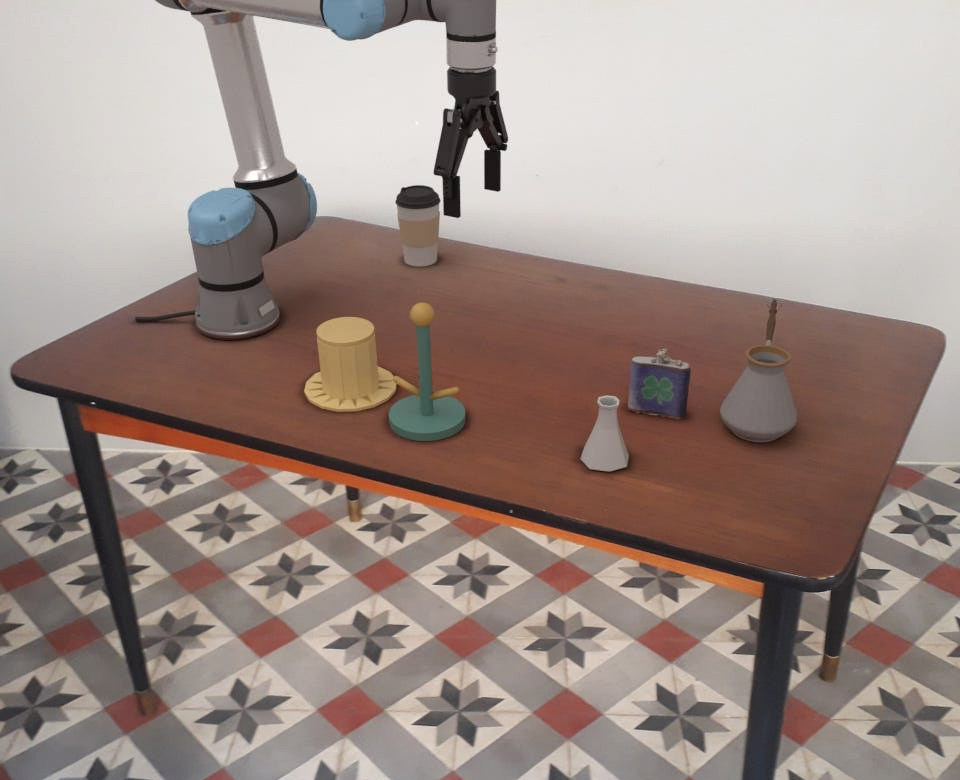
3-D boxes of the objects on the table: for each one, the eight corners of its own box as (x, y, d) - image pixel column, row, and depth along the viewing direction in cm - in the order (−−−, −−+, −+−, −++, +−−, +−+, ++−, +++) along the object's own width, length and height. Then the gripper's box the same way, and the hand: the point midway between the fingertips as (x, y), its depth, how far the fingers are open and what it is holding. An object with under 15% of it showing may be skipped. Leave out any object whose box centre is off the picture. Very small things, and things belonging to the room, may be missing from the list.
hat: (288, 402, 169) (280, 342, 163) (332, 360, 181) (326, 303, 175) (371, 418, 165) (366, 357, 158) (411, 375, 176) (407, 316, 170)
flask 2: (626, 411, 165) (631, 350, 159) (629, 402, 168) (635, 342, 162) (684, 420, 163) (691, 359, 157) (687, 411, 165) (694, 351, 159)
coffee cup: (445, 251, 220) (442, 181, 211) (439, 269, 212) (436, 197, 204) (402, 250, 221) (398, 180, 212) (395, 268, 213) (391, 196, 205)
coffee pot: (792, 454, 155) (809, 364, 146) (714, 443, 157) (726, 354, 149) (797, 385, 172) (813, 301, 163) (726, 376, 174) (738, 293, 166)
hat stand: (376, 432, 161) (366, 314, 150) (408, 396, 170) (401, 281, 159) (447, 447, 158) (443, 327, 146) (477, 409, 167) (475, 293, 155)
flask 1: (576, 447, 157) (579, 389, 151) (624, 444, 158) (628, 386, 152) (584, 474, 151) (587, 415, 145) (633, 471, 152) (639, 412, 146)
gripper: (452, 89, 148) (454, 232, 161) (530, 52, 166) (527, 183, 179) (407, 82, 151) (413, 223, 164) (488, 47, 169) (488, 176, 182)
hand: (472, 202), depth 171 cm, fingers open, 13 cm apart
